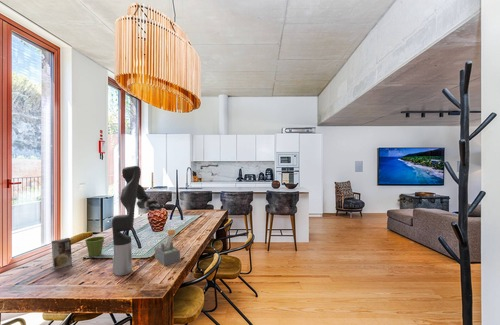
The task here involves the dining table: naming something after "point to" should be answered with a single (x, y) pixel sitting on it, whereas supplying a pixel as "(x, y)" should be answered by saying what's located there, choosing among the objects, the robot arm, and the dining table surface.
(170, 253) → the box
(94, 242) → the plant pot
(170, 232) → the breaker lever
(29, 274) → the dining table surface
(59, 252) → the coffee box
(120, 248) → the robot arm
